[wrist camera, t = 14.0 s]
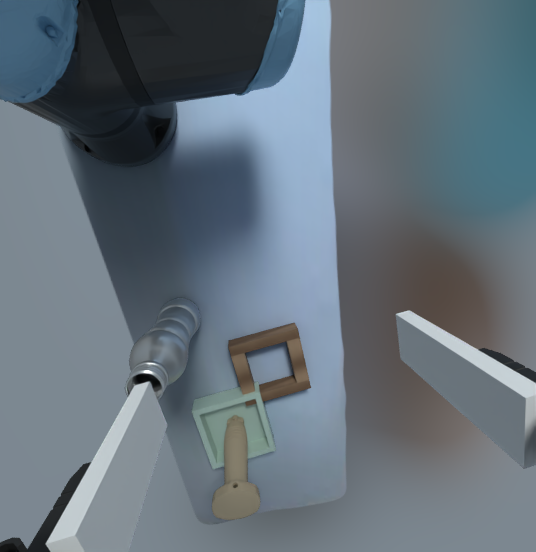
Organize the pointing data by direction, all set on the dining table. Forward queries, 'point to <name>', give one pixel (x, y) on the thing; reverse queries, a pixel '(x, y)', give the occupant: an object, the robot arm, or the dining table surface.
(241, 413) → the tray
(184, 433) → the dining table surface
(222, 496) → the handle
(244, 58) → the robot arm
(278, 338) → the brown wooden frame
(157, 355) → the plastic bottle
